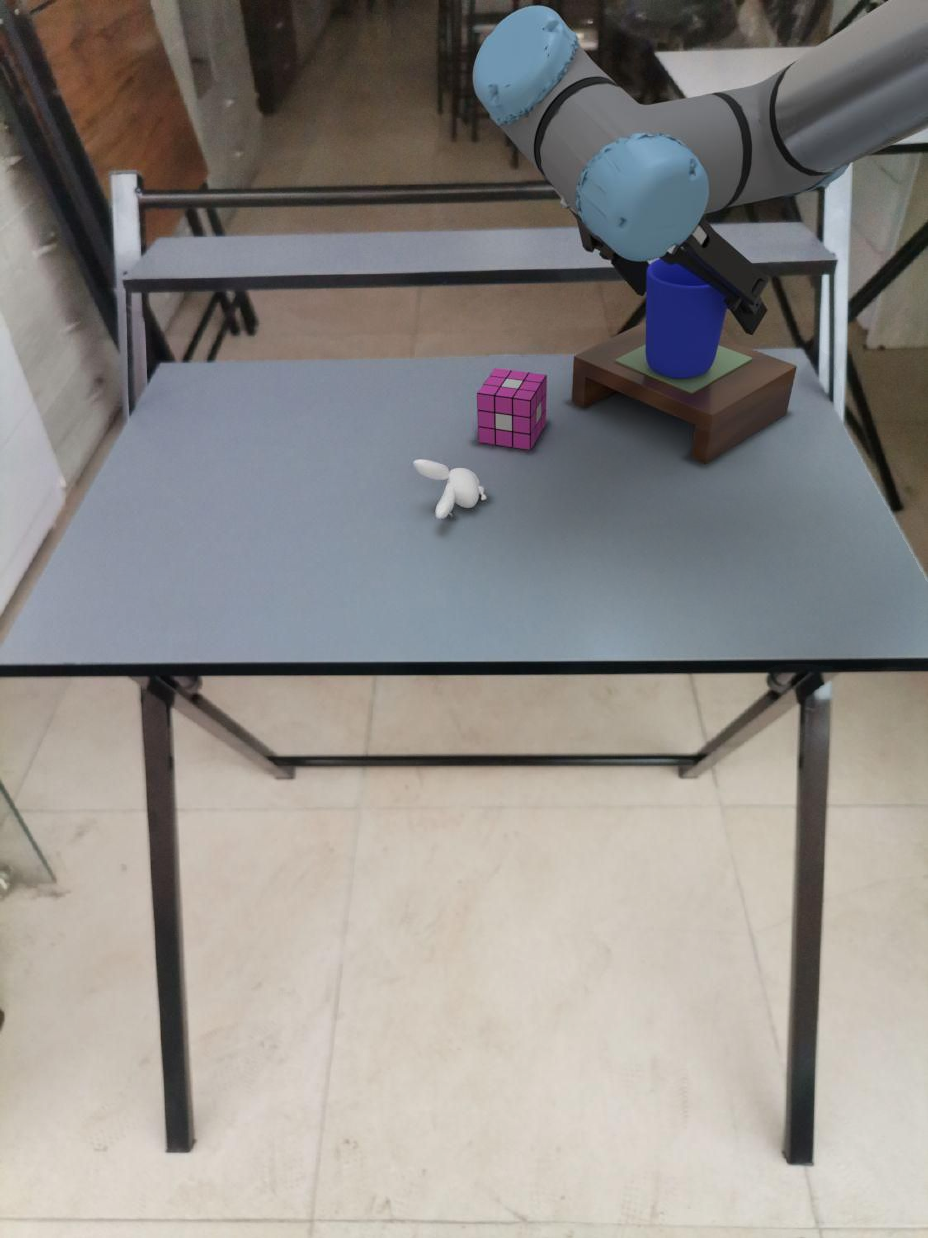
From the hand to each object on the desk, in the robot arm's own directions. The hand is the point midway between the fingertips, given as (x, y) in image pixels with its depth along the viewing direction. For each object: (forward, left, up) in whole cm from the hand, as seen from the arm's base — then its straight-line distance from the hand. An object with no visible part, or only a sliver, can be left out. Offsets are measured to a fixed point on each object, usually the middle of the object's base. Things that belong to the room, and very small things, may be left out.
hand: (699, 302), depth 92 cm
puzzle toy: (+9, +17, -12) cm, 23 cm away
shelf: (0, +1, -11) cm, 11 cm away
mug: (0, +1, -6) cm, 6 cm away
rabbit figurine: (+3, +31, -12) cm, 34 cm away
